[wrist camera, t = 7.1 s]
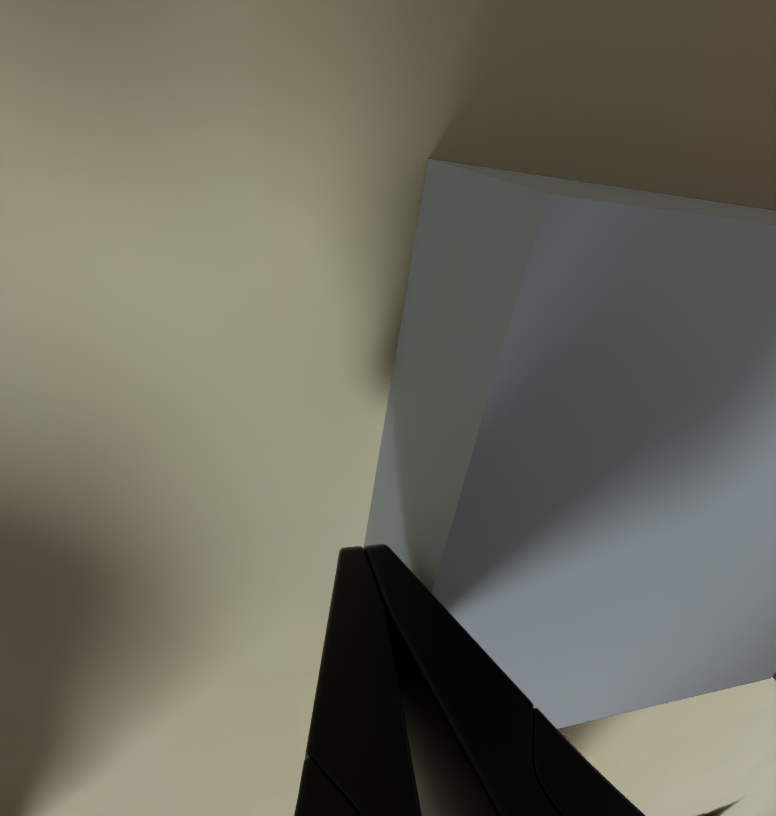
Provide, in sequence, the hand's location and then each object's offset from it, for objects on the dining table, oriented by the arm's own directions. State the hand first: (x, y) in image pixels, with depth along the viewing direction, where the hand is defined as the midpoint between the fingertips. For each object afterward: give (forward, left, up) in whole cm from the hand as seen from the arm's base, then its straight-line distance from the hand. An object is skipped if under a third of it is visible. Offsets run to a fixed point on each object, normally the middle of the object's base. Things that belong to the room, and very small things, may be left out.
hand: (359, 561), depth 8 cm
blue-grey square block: (0, -7, -3) cm, 7 cm away
